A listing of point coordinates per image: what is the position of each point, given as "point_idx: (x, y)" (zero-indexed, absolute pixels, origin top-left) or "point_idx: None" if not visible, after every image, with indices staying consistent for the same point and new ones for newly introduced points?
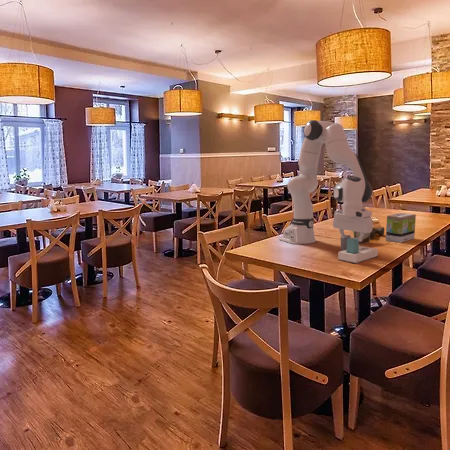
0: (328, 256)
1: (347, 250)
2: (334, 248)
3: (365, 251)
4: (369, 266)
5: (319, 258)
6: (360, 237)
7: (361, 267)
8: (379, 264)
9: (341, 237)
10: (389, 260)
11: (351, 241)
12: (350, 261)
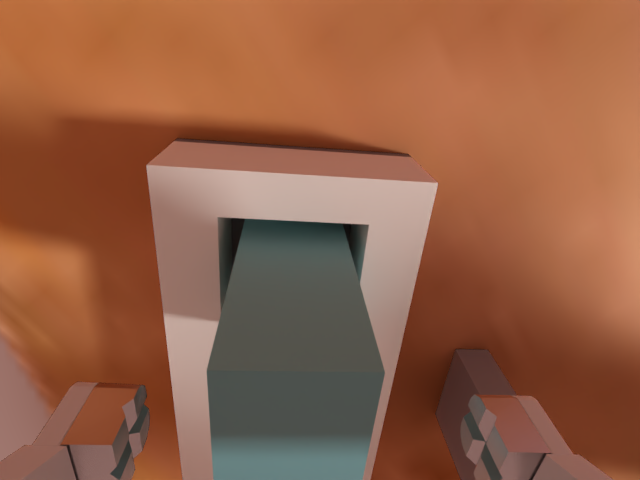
0: (551, 210)
1: (338, 252)
2: (586, 427)
3: (202, 377)
4: (9, 140)
5: (617, 78)
6: (13, 460)
7: (27, 40)
8: (12, 264)
9: (527, 400)
10: None
11: (271, 344)
12: (249, 146)
